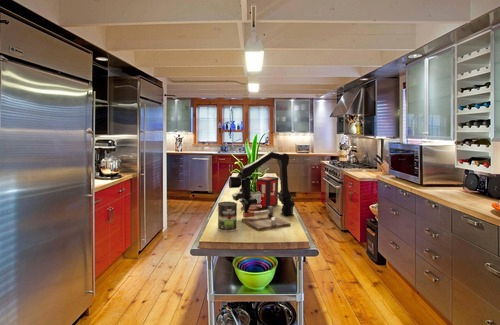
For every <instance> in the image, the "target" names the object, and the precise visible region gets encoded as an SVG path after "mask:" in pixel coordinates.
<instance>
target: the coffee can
mask: <svg viewBox="0 0 500 325" xmlns="http://www.w3.org/2000/svg"><path fill="white" fill-rule="evenodd" d="M217 206H218V208H217V210H218V211H217V215H218V216H217V230H218V231H220V232H224V233H229V232H234V231H236V230H237V220H238V219H237V218H238V217H237V216H238V215H237V214H238V212H237V211H238V208H237V207H238V203H237V202H235V201H221V202H217Z"/></svg>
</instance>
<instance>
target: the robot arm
mask: <svg viewBox="0 0 500 325" xmlns="http://www.w3.org/2000/svg"><path fill="white" fill-rule="evenodd" d="M271 159H274V160H276V162H277V165H278V167H279V177H280V178H279V179H280V190H279V191H278V202H279V201H280V204H282V205H281V206H282V207H281V213H280V215H282V216H284V217H291V216H292V217H293V216H295V214H294V207H295V205H296V203H295V202H294V201H293V200H292V195H291V193H290V191H289V180H288V178H289V177H288V166H289V163H290V162H289V161H290V156H289V154H288V153H284V152H279V153H277V152H274V151H267V152H266V153H265V154H263V155H262V156H260V157H259V158H258V159H256V160H254V161H253V162H252V163H249V164H246V165H244V166H242V167H241V168H240V172H239V173H238V174H237V175H236V176H229V179H228V188H229V189H239V188H240V187H241V188H240V189H239V191H237V192H235V193H232V194H231V197H232V200H233V201H234V202H235V201H236V202H240V203H241V205H242V208H243V212H249V209H250V207H251V205H256V204H257V200H256V197H253V196H252V195H251V194H252V191H253V189H252V188H251V187H252V186H251V185H252V183H251V182H252V181H255V178H254V177H253V176H252V175H253V174H254V173H255V171H256V170H257V169H258V168H260V167H262V166H263V165H264V164H266V163H268V161H270V160H271Z"/></svg>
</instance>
